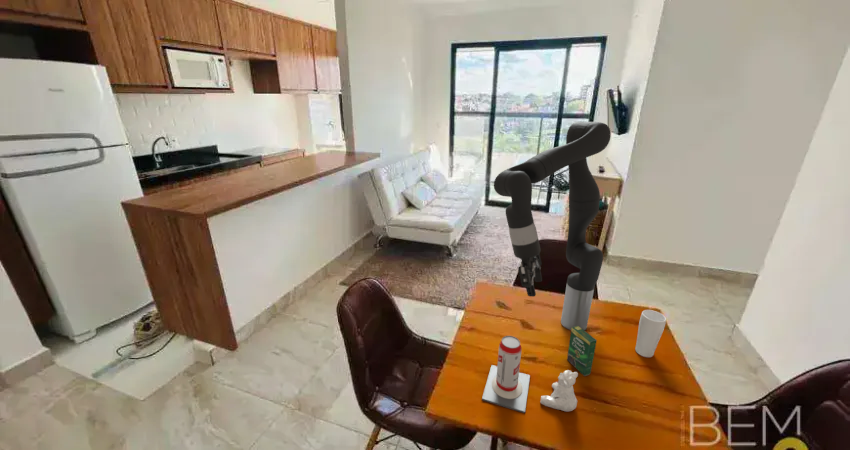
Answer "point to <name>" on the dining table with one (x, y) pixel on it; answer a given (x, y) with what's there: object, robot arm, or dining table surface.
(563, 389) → the seated beast figurine
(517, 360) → the beer can
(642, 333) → the drinking glass
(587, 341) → the coffee box
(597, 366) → the dining table surface
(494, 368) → the card
